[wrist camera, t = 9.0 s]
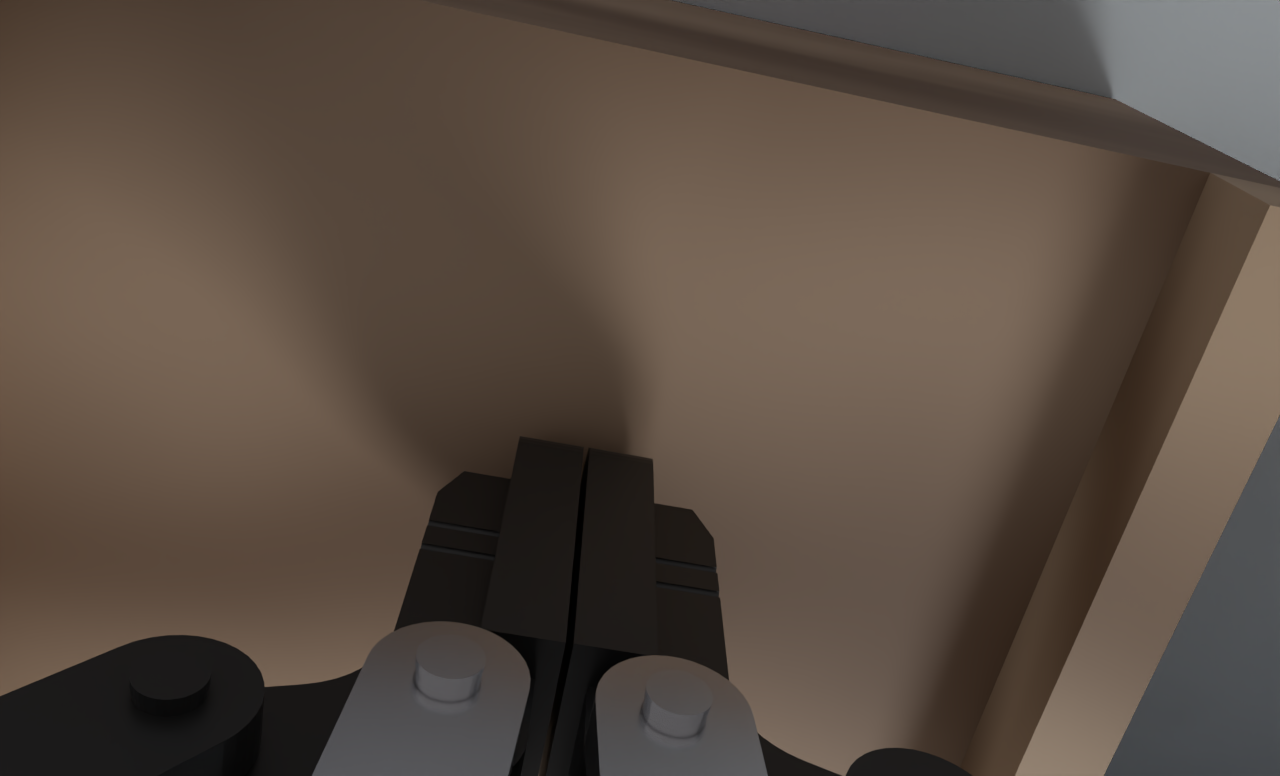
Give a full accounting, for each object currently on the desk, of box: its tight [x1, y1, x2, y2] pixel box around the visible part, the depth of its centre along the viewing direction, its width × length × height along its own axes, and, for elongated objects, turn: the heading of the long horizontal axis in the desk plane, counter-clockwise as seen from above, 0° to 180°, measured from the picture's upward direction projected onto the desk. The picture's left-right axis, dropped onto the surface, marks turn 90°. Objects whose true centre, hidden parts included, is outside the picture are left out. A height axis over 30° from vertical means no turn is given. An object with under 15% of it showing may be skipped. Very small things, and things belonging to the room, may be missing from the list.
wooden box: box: [0, 0, 1280, 776], centre depth 17 cm, size 20×14×6 cm
